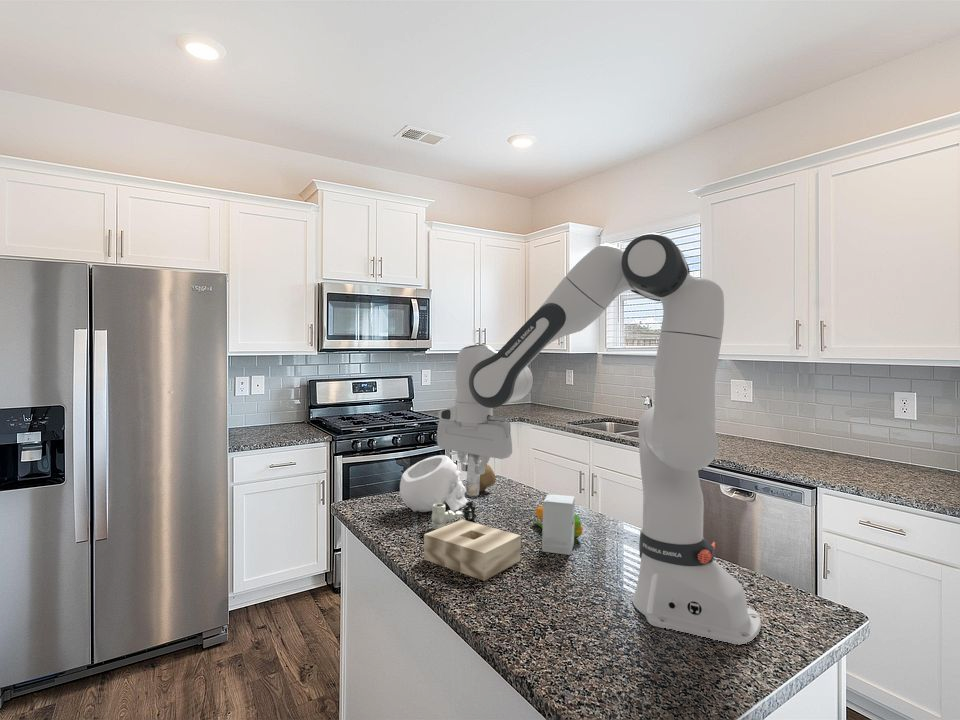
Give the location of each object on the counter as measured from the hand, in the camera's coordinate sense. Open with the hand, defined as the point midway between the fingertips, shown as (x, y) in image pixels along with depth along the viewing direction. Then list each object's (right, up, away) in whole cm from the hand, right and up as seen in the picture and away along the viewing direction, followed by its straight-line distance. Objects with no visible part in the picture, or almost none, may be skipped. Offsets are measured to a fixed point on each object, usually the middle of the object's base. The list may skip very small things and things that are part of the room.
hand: (473, 472), depth 123 cm
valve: (-6, -21, +24) cm, 32 cm away
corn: (+22, -21, +20) cm, 36 cm away
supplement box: (+21, -21, +8) cm, 31 cm away
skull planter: (-12, -20, +39) cm, 46 cm away
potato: (+3, -20, +60) cm, 64 cm away
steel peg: (0, -5, 0) cm, 5 cm away
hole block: (0, -21, 0) cm, 21 cm away
